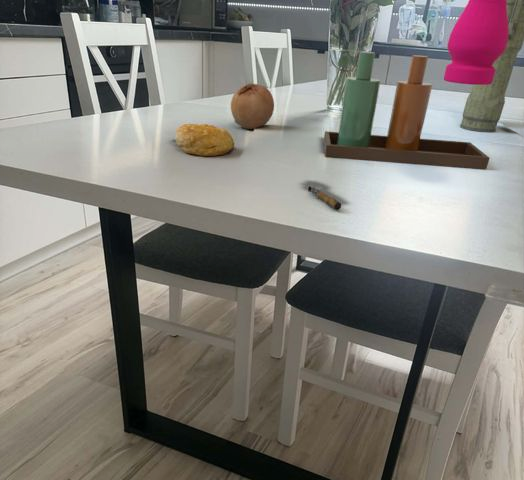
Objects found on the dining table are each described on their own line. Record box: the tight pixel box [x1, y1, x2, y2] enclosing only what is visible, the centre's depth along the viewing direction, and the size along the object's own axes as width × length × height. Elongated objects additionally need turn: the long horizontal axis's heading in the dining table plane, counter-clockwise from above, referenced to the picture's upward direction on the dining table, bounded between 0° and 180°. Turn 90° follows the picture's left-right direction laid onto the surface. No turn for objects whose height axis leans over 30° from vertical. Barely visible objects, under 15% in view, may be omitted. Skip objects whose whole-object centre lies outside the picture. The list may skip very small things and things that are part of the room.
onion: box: [230, 82, 275, 130], centre depth 104 cm, size 10×9×10 cm
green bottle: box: [337, 51, 381, 147], centre depth 87 cm, size 6×6×16 cm
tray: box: [323, 130, 491, 171], centre depth 90 cm, size 29×13×3 cm, turn 85°
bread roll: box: [174, 123, 235, 157], centre depth 86 cm, size 10×11×5 cm
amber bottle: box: [385, 54, 433, 151], centre depth 86 cm, size 6×6×16 cm
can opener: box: [307, 185, 342, 211], centre depth 67 cm, size 9×2×1 cm, turn 15°
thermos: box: [459, 0, 524, 133], centre depth 113 cm, size 9×12×35 cm
